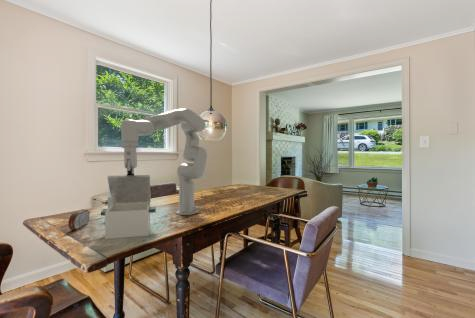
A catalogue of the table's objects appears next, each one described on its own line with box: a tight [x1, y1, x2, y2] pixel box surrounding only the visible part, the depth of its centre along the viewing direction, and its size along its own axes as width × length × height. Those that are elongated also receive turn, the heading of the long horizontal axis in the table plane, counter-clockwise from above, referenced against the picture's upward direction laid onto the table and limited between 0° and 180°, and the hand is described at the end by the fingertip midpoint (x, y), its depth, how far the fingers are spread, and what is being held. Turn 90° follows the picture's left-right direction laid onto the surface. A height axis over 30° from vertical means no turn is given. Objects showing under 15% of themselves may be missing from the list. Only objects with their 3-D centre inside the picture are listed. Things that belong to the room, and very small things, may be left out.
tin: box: [67, 209, 90, 231], centre depth 125 cm, size 15×3×8 cm, turn 5°
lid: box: [107, 174, 152, 204], centre depth 123 cm, size 19×19×3 cm
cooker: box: [100, 202, 157, 240], centre depth 120 cm, size 24×18×12 cm
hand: (130, 182), depth 121 cm, fingers closed
